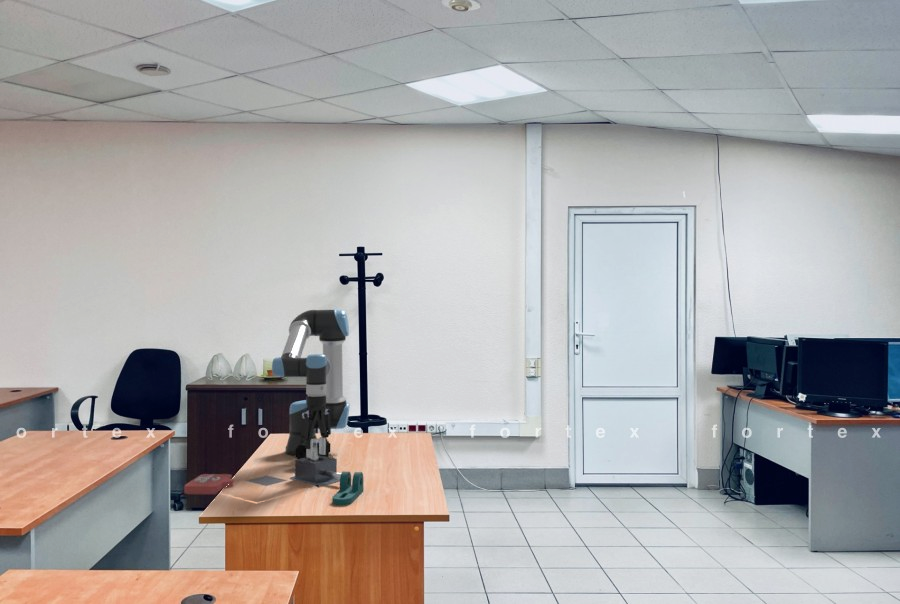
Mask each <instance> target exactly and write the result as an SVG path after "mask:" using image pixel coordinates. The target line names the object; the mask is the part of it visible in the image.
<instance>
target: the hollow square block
mask: <svg viewBox="0 0 900 604" xmlns="http://www.w3.org/2000/svg"><path fill="white" fill-rule="evenodd" d="M318 460H319V461H311V460H310V458H309V457H306V458H301V459H297V458H296V459H294V476H292V477H289V480H293V481H298V482H303V483H306V484H310V485H314V487H318V488H320V487H323V486H326V485H327V486H328V485H330V484H331V485H332V484H333V483H338V482H340V477H341V473H342V472H341V473H339V472H338V471H337V470H338V469H337V466H338V465H337V464H338V459H337V458H335V457H330V456H329V457H325V456H320V455H318Z"/></svg>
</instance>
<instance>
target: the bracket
mask: <svg viewBox="0 0 900 604" xmlns="http://www.w3.org/2000/svg"><path fill="white" fill-rule="evenodd" d="M362 493H364V474H363V472H362V471H355V472H354V473H353V475H352V473H351V471H346V470H345V471H343V470H342V472H341V477H340V481H339V490H338V491H337V492H336V493H335V494H333V496H332V497H331V498H332V501H331V502H332V505H334V506H341V507H342V506H349V505H351V504H353V503H354V502H355V501H356V500H357V499H358V498H359V496H361V495H362Z"/></svg>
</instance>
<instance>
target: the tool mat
mask: <svg viewBox="0 0 900 604" xmlns="http://www.w3.org/2000/svg"><path fill="white" fill-rule="evenodd" d="M245 481H246V482H249V483H253V484H257V485H262V486H266V487H267V486H271V485H276V484H279V483H283V482H286V481H288V479H285V478H280V477H275V476H270V475H264V476H263V475H262V476H259V477H254V478H251V479H247V480H245Z"/></svg>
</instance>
